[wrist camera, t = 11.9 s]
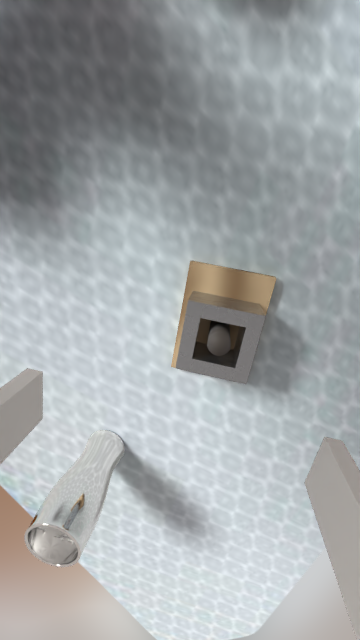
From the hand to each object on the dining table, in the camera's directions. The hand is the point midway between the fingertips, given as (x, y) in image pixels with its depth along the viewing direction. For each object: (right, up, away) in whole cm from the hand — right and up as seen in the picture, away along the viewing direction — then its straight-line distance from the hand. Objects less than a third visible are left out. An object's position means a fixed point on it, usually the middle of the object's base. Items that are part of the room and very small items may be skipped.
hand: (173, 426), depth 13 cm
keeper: (+5, +5, +22) cm, 23 cm away
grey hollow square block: (+5, +4, +21) cm, 22 cm away
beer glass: (-11, -15, +31) cm, 37 cm away
